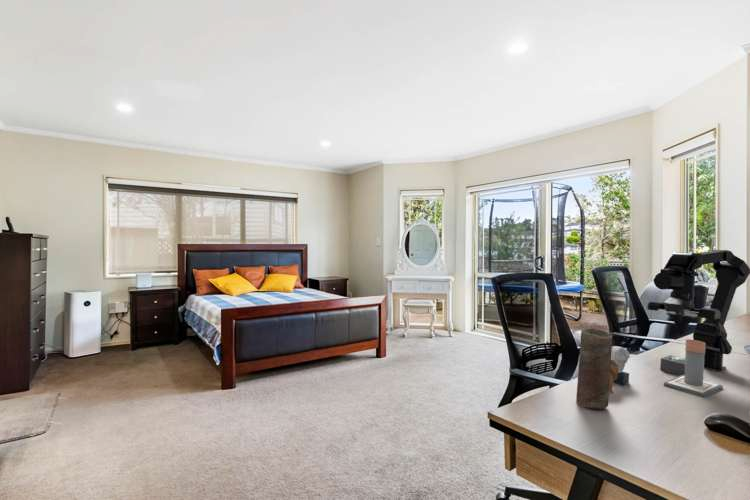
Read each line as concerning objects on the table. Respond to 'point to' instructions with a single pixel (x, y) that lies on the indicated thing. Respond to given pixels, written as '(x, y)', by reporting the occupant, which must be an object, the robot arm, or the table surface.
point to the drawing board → (697, 390)
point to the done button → (678, 359)
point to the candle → (594, 368)
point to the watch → (620, 364)
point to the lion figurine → (613, 374)
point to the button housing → (672, 365)
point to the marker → (694, 362)
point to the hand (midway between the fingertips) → (680, 334)
